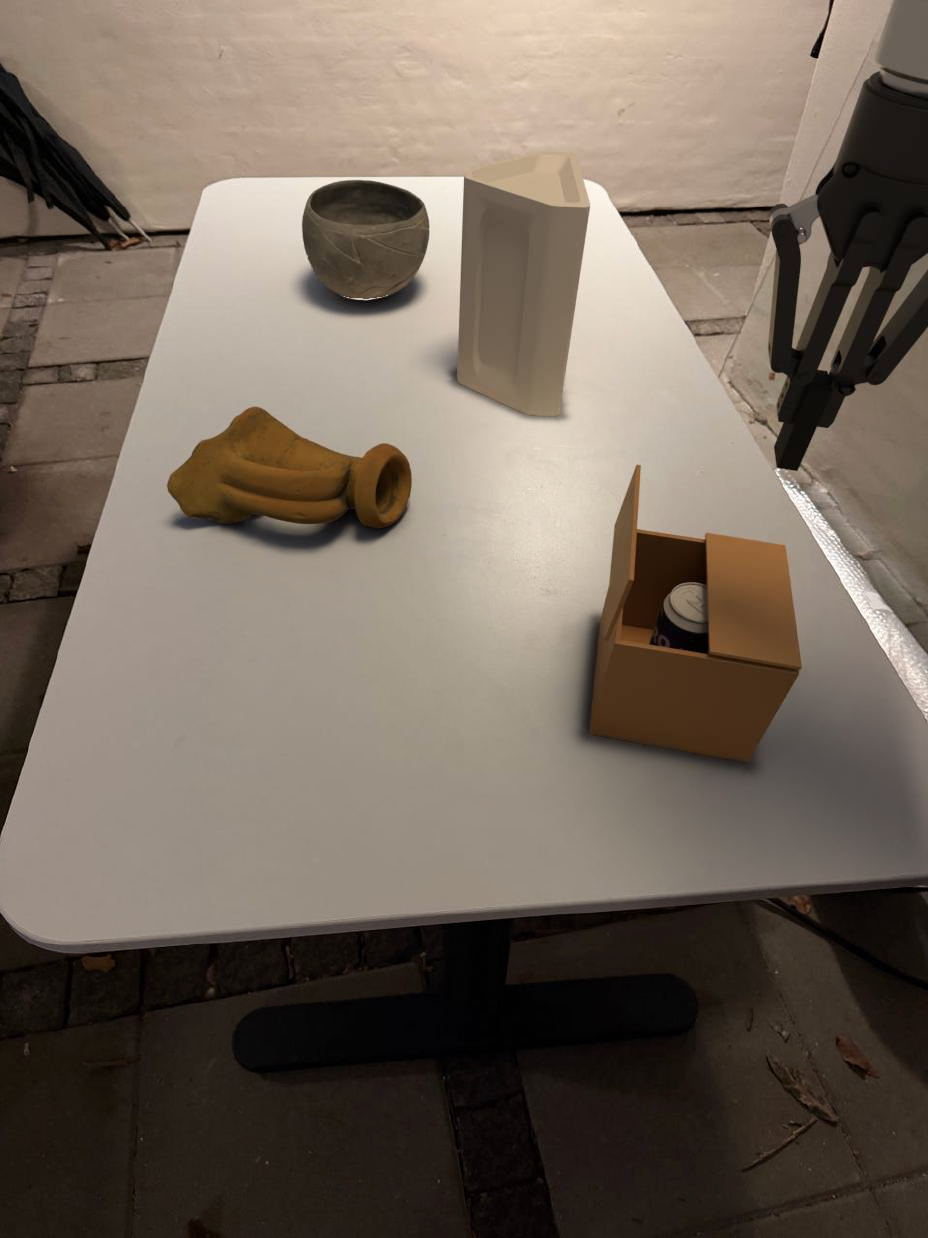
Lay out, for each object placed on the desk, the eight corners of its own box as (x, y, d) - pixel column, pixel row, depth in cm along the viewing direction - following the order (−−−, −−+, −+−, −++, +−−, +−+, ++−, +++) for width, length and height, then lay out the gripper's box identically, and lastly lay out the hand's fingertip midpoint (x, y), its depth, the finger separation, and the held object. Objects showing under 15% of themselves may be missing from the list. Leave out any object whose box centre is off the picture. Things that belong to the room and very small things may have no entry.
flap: (784, 548, 72) (785, 545, 72) (800, 670, 62) (802, 667, 62) (704, 535, 73) (706, 532, 73) (708, 654, 63) (709, 651, 63)
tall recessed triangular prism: (457, 345, 123) (464, 147, 102) (550, 348, 123) (575, 152, 103) (456, 412, 110) (463, 202, 90) (560, 416, 111) (591, 207, 90)
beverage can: (664, 653, 81) (693, 570, 72) (706, 687, 78) (742, 606, 69) (626, 678, 78) (652, 596, 69) (668, 715, 75) (701, 634, 66)
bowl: (356, 334, 124) (349, 237, 113) (283, 286, 134) (271, 193, 123) (454, 297, 134) (456, 205, 123) (379, 256, 144) (375, 167, 133)
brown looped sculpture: (267, 389, 99) (416, 411, 90) (275, 487, 105) (415, 517, 96) (155, 416, 84) (320, 446, 76) (172, 528, 90) (327, 568, 82)
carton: (740, 644, 83) (812, 488, 67) (748, 762, 73) (835, 612, 57) (591, 619, 84) (629, 462, 69) (579, 732, 74) (620, 578, 59)
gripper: (1054, 73, 42) (868, 442, 59) (806, 51, 43) (695, 418, 60) (1105, 113, 37) (885, 503, 54) (822, 87, 38) (697, 476, 55)
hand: (785, 458), depth 57 cm, fingers closed
